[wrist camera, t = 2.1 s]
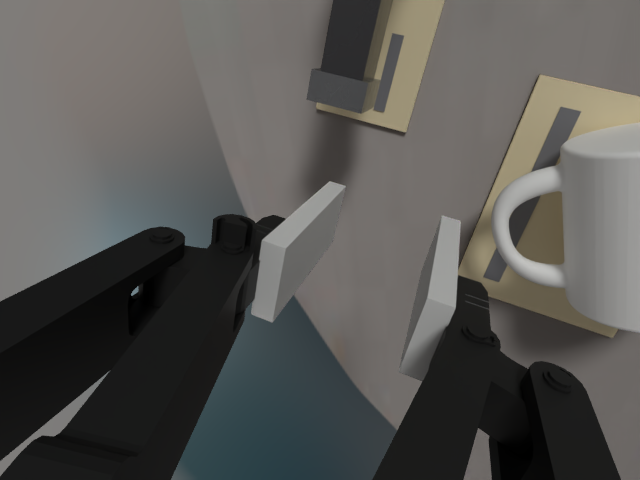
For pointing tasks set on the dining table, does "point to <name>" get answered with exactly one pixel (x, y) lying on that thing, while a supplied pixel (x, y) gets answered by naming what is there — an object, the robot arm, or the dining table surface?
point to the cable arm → (351, 55)
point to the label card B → (545, 210)
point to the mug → (587, 225)
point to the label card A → (400, 63)
